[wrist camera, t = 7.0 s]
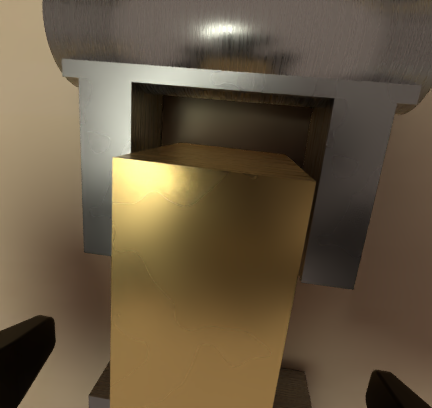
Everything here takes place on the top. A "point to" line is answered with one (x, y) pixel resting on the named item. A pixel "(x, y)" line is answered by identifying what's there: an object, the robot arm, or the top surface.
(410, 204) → the top surface
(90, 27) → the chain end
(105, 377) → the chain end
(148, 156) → the gold ingot
